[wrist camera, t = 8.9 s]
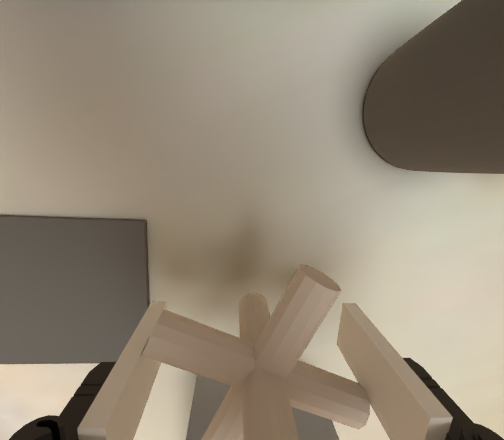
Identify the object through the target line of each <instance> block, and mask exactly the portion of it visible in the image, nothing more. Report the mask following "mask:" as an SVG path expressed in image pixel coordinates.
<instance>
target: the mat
mask: <svg viewBox="0 0 504 440" xmlns="http://www.w3.org/2000/svg"><path fill="white" fill-rule="evenodd" d="M148 307H149V282H148V254H147V226H146V220H122V219H93V218H63V217H33V216H4V215H0V364H63V363H101V362H117V360H118V358H119V357H120V355H121V353H122V352H123V350H124V348H125V346H126V345H127V343H128V341H129V340H130V338H131V336H132V335H133V333H134V331H135V329H136V328H137V326H138V324H139V323H140V321H141V319H142V317H143V316H144V314H145V312H146V311H147V309H148Z"/></svg>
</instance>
